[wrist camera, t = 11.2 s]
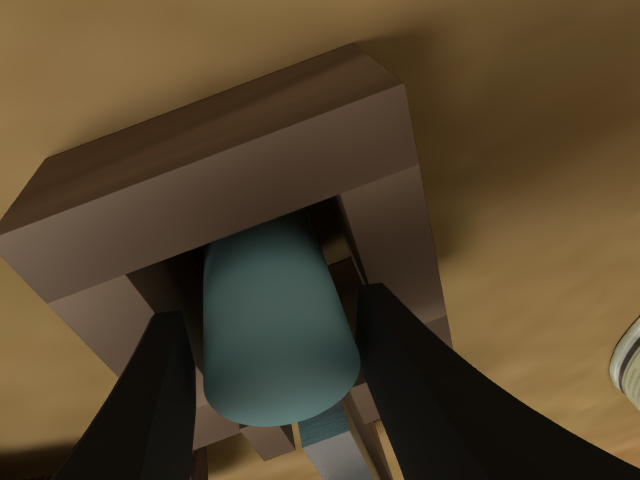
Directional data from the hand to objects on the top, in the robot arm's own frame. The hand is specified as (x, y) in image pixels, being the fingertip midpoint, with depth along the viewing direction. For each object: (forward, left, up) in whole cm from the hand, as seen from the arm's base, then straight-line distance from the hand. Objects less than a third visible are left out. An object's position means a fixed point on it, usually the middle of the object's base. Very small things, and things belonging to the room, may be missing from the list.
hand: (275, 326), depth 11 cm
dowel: (0, 0, -5) cm, 5 cm away
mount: (+4, 0, -5) cm, 6 cm away
